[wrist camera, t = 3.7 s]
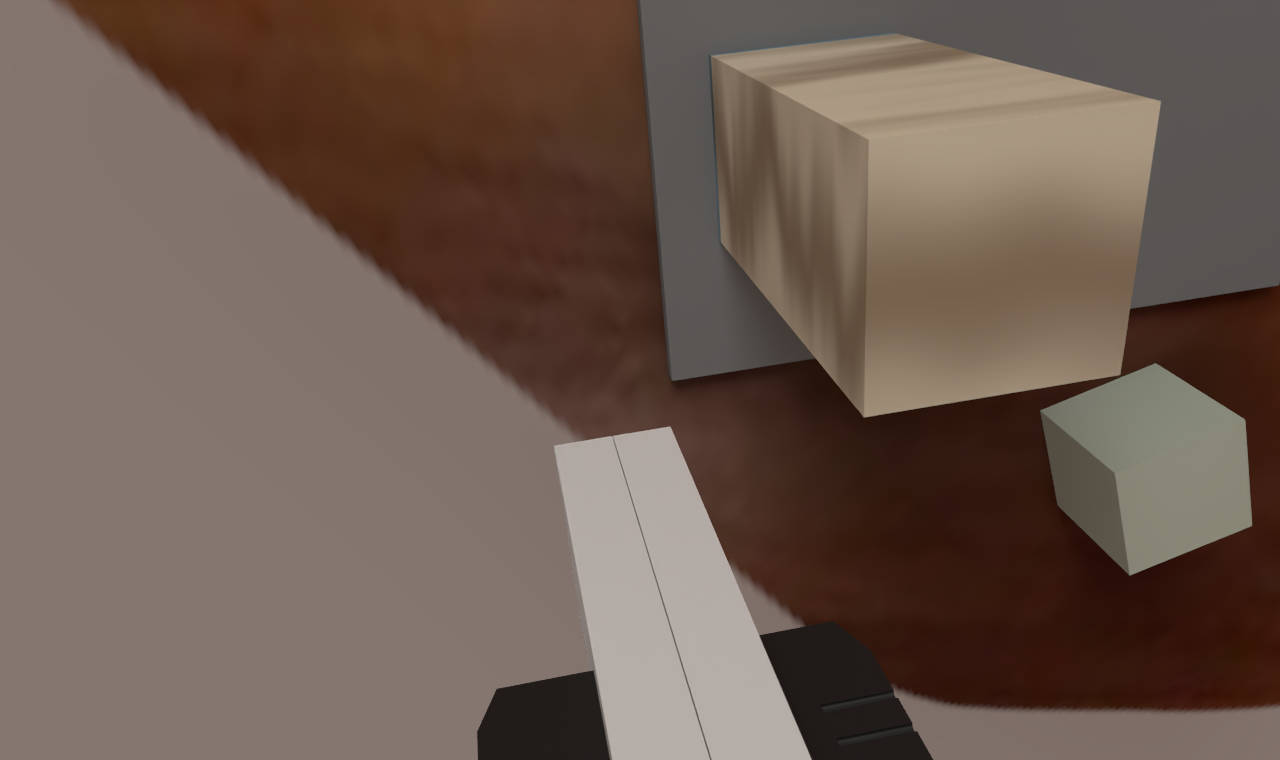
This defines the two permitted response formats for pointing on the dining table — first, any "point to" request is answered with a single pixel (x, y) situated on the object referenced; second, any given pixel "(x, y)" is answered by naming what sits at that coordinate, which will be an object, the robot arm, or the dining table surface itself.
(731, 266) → the rubber mat
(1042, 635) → the dining table surface
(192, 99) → the dining table surface
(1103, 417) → the sage cube
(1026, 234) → the beech block
